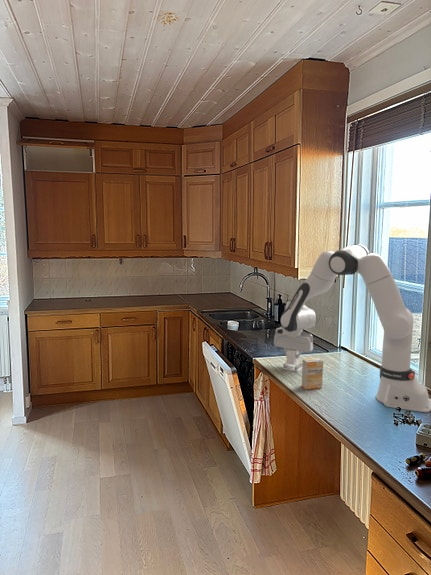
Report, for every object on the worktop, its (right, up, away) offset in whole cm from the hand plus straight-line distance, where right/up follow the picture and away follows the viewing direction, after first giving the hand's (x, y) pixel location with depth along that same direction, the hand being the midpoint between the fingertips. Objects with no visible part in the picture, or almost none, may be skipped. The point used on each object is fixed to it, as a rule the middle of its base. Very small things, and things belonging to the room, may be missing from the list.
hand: (292, 357), depth 228 cm
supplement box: (+5, -10, -25) cm, 27 cm away
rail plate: (0, -6, +1) cm, 6 cm away
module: (0, -3, 0) cm, 3 cm away
